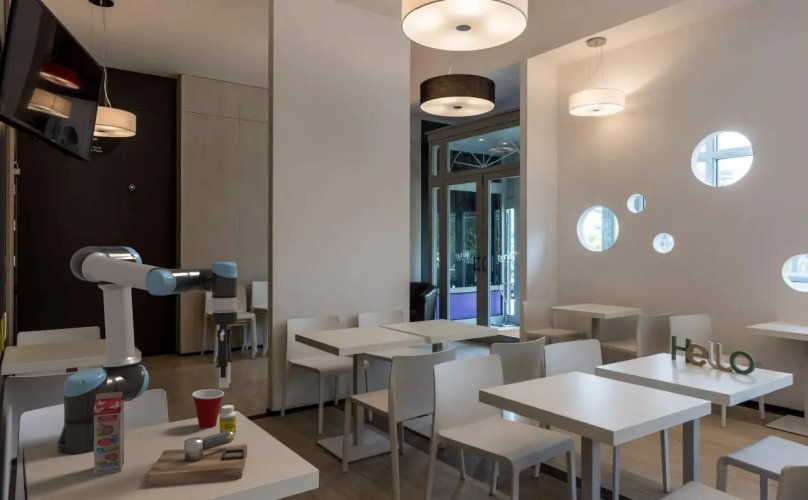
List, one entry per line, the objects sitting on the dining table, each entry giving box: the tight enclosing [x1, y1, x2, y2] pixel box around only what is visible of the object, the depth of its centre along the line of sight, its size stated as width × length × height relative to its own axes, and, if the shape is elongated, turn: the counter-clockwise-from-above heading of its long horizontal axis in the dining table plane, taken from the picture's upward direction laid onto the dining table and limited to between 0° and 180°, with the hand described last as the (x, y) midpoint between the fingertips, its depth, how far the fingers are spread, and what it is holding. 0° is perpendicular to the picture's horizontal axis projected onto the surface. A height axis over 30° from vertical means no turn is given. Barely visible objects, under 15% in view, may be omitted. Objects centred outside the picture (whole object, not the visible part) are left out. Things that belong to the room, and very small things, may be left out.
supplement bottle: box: [219, 404, 237, 436], centre depth 182 cm, size 5×5×10 cm
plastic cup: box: [192, 389, 225, 429], centre depth 191 cm, size 11×11×12 cm
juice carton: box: [93, 392, 125, 476], centre depth 153 cm, size 7×7×22 cm
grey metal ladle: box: [183, 431, 236, 461], centre depth 156 cm, size 15×5×5 cm, turn 137°
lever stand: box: [147, 443, 248, 487], centre depth 153 cm, size 18×24×4 cm
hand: (224, 385), depth 166 cm, fingers open, 4 cm apart
